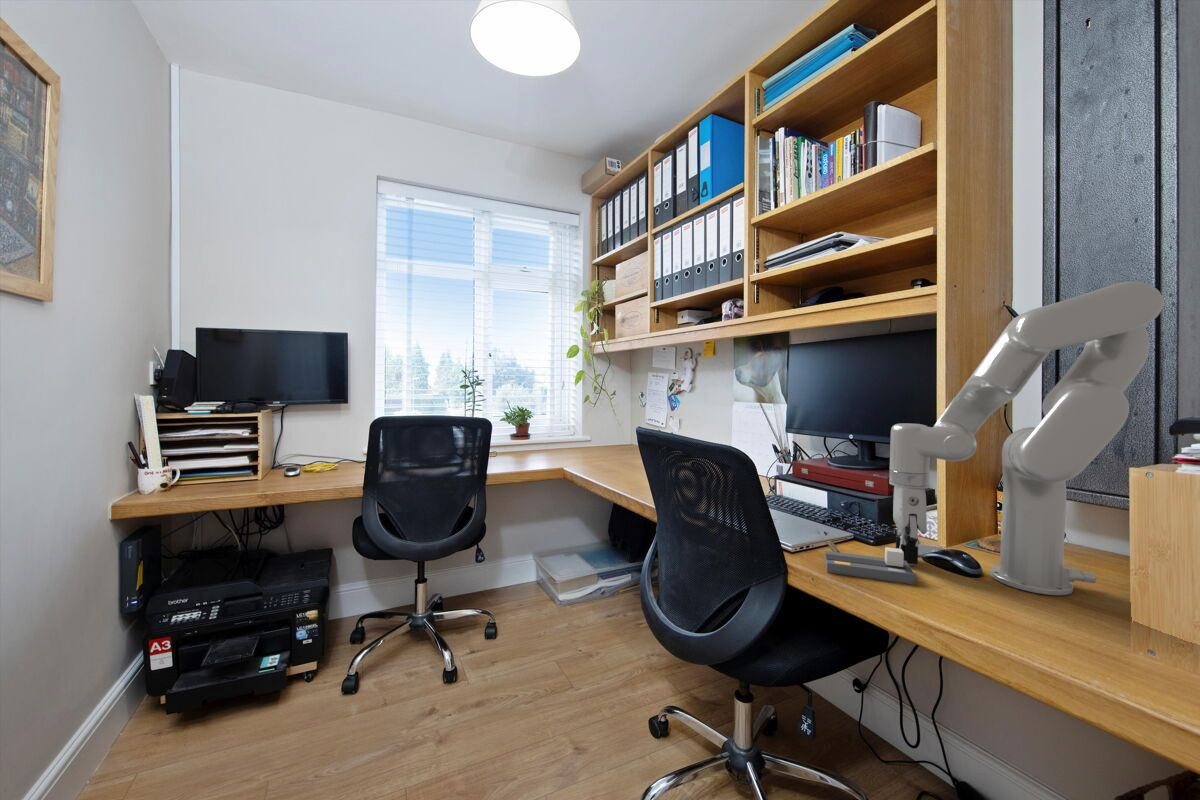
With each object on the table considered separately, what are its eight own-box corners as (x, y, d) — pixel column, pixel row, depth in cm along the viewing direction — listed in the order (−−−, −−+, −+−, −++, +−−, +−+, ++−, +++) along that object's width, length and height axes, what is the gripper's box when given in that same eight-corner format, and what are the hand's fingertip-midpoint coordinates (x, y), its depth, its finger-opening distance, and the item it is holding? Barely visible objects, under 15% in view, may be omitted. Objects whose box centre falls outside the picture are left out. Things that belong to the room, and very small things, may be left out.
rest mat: (942, 549, 117) (942, 547, 117) (952, 560, 109) (952, 558, 109) (904, 544, 120) (904, 542, 120) (911, 555, 112) (911, 553, 112)
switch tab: (900, 562, 102) (901, 549, 102) (903, 567, 100) (903, 552, 100) (884, 560, 103) (885, 547, 103) (886, 564, 101) (887, 550, 101)
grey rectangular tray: (905, 569, 104) (906, 560, 104) (914, 584, 97) (914, 574, 96) (824, 559, 110) (824, 550, 110) (826, 572, 103) (827, 562, 102)
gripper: (939, 488, 98) (936, 575, 99) (919, 473, 114) (916, 548, 115) (897, 485, 101) (894, 570, 102) (883, 470, 117) (880, 544, 117)
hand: (906, 558), depth 108 cm, fingers closed on rook chess piece, 4 cm apart
